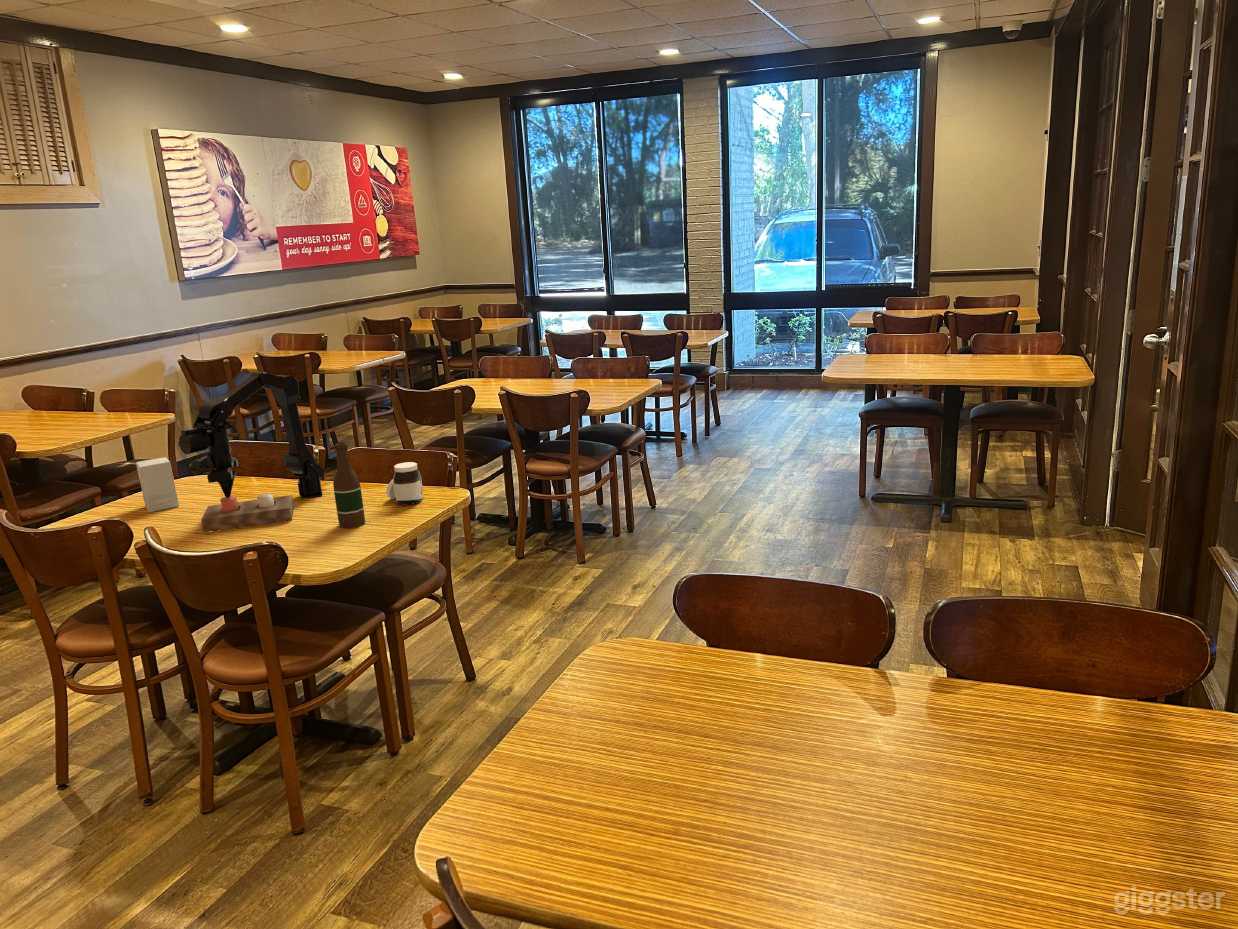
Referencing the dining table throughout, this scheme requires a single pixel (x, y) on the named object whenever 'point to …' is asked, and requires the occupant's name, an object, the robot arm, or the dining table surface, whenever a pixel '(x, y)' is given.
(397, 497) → the spread jar
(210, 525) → the press panel
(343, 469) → the beer bottle
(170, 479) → the supplement box
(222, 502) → the red plunger
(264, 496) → the grey plunger
